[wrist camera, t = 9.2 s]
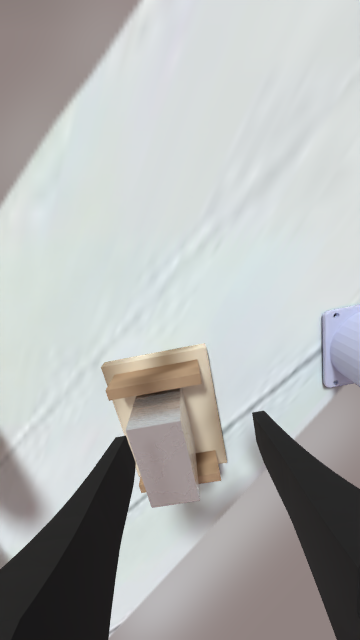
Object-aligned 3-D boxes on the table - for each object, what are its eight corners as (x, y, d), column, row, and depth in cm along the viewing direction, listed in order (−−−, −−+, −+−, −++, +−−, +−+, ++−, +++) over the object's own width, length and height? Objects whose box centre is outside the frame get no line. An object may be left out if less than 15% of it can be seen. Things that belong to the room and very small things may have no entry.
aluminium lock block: (179, 378, 20) (180, 420, 15) (194, 443, 22) (199, 500, 17) (139, 385, 20) (125, 430, 15) (158, 449, 22) (151, 507, 17)
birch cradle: (204, 343, 20) (209, 360, 17) (225, 454, 24) (232, 486, 21) (104, 362, 21) (90, 382, 17) (140, 468, 25) (134, 501, 21)
